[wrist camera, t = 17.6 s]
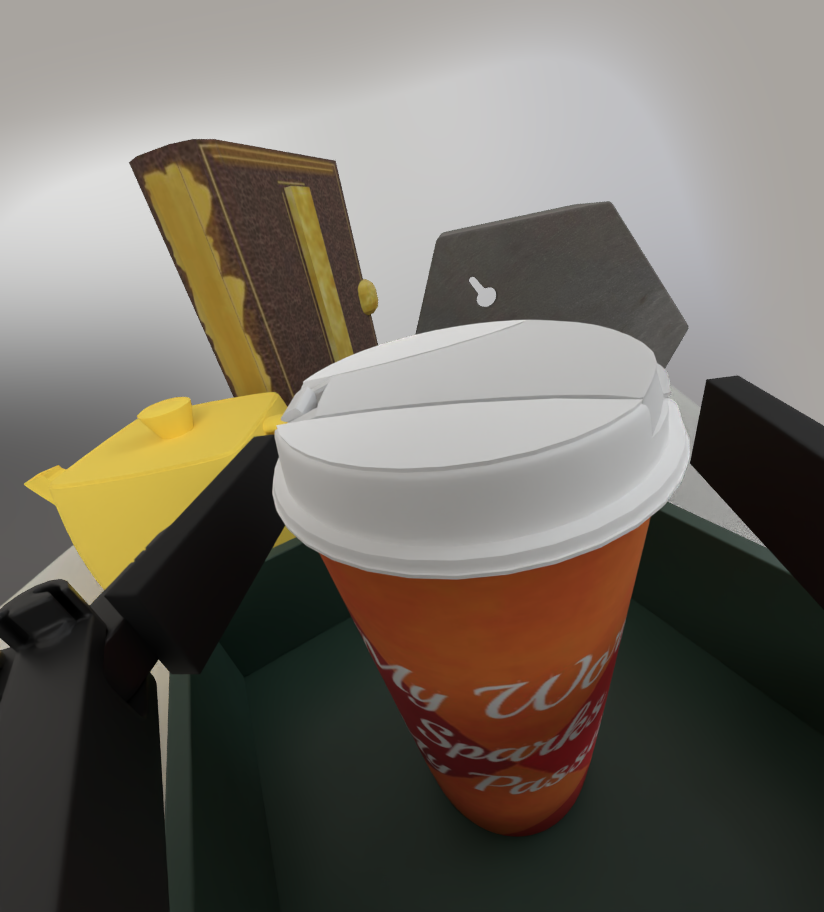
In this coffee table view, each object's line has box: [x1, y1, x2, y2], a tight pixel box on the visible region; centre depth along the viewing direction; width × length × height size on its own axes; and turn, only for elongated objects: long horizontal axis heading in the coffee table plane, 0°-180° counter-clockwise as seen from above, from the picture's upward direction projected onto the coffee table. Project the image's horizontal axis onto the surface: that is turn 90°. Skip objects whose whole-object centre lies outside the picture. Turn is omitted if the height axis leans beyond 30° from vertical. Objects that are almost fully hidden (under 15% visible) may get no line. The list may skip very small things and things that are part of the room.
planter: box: [415, 201, 688, 369], centre depth 31 cm, size 17×8×21 cm
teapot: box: [24, 392, 296, 590], centre depth 27 cm, size 20×12×12 cm, turn 91°
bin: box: [165, 502, 824, 912], centre depth 14 cm, size 19×19×7 cm
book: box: [129, 139, 378, 407], centre depth 38 cm, size 22×8×25 cm, turn 164°
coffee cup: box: [272, 320, 690, 837], centre depth 12 cm, size 8×8×15 cm
